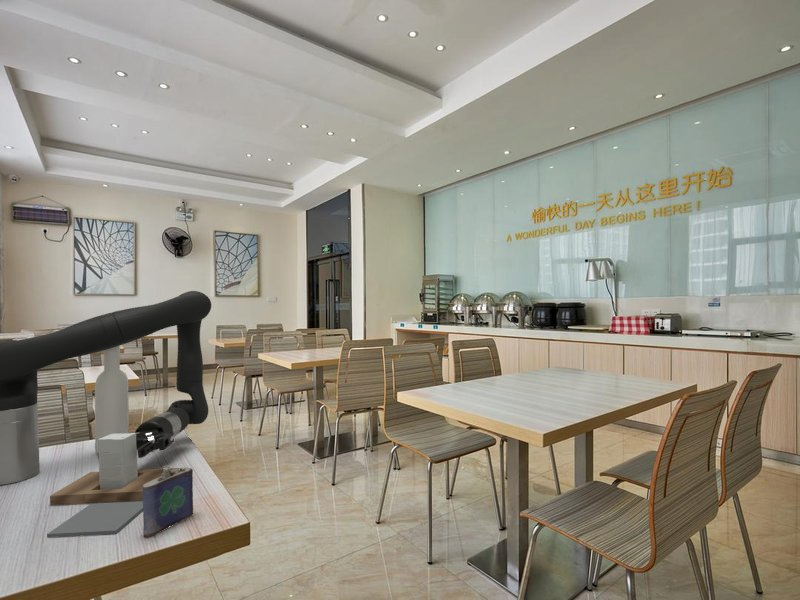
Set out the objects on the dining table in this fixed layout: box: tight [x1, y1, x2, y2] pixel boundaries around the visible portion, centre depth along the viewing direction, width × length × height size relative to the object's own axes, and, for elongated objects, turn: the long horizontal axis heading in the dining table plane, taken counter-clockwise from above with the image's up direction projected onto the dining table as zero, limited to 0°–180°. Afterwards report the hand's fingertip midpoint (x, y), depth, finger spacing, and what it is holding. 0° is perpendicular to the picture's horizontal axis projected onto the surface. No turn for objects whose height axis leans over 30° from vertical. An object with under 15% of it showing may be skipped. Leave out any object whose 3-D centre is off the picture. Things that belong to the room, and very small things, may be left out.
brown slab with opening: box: [49, 467, 179, 506], centre depth 93 cm, size 20×12×2 cm, turn 92°
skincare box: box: [98, 432, 138, 490], centre depth 93 cm, size 6×4×12 cm
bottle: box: [94, 345, 130, 456], centre depth 117 cm, size 8×8×30 cm
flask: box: [142, 464, 194, 537], centre depth 77 cm, size 9×3×11 cm, turn 151°
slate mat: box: [46, 501, 143, 538], centre depth 80 cm, size 12×11×1 cm
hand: (119, 455), depth 92 cm, fingers open, 8 cm apart
